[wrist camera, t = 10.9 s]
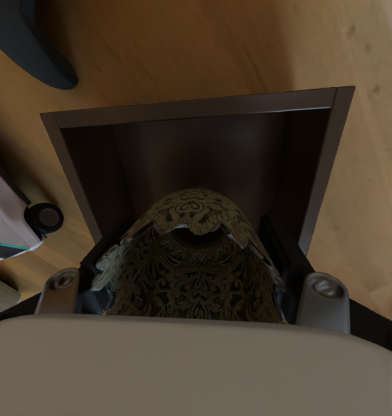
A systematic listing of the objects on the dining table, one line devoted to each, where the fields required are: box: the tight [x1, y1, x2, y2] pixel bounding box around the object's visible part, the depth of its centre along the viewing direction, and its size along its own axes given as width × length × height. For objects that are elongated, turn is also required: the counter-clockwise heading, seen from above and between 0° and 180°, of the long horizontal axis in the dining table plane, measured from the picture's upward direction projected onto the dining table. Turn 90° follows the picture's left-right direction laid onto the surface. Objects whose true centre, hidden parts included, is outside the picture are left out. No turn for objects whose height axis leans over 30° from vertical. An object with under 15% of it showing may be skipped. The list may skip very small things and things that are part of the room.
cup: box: [90, 188, 286, 324], centre depth 10 cm, size 8×7×8 cm
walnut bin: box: [40, 86, 355, 256], centre depth 13 cm, size 13×14×6 cm
